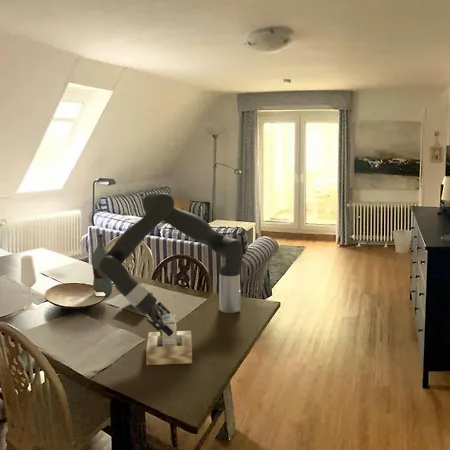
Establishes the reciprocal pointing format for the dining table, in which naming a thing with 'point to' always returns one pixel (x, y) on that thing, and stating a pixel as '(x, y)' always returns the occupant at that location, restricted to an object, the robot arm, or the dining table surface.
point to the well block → (169, 349)
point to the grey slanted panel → (129, 304)
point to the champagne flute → (28, 278)
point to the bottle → (99, 282)
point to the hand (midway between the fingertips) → (173, 329)
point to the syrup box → (171, 323)
